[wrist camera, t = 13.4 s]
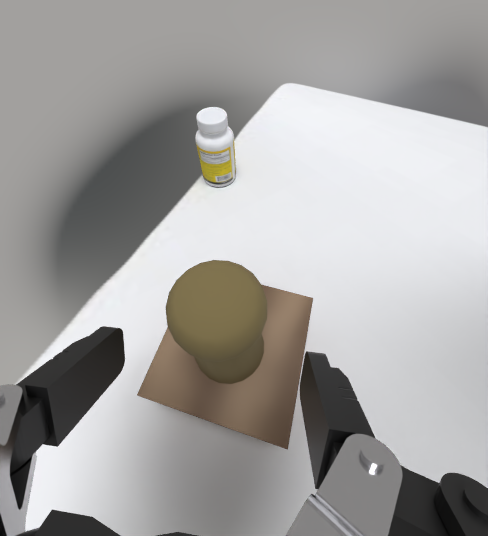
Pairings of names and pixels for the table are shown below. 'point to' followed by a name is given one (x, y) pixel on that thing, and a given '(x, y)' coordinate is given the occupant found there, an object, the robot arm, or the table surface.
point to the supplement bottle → (215, 147)
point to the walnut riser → (249, 390)
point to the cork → (219, 319)
